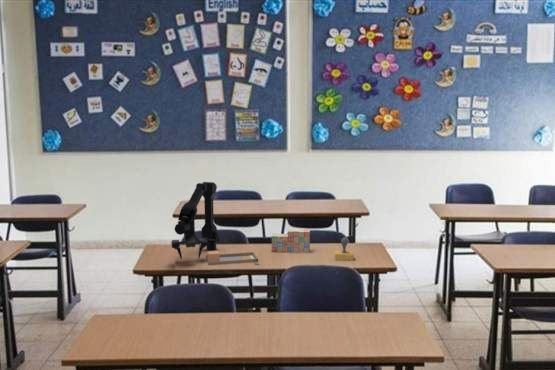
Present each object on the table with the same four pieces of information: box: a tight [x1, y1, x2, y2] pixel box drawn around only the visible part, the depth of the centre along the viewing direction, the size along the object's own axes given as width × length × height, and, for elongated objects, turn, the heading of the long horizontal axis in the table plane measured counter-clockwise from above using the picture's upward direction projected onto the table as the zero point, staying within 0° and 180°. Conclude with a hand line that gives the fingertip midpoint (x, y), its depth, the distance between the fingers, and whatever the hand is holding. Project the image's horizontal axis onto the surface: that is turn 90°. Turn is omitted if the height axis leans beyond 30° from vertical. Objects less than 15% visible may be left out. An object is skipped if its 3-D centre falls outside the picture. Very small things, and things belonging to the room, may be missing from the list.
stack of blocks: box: [271, 228, 311, 254], centre depth 353 cm, size 21×6×12 cm, turn 85°
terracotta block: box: [206, 250, 220, 263], centre depth 332 cm, size 5×6×4 cm
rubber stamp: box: [334, 237, 355, 261], centre depth 337 cm, size 10×6×12 cm, turn 85°
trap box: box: [205, 251, 259, 266], centre depth 332 cm, size 13×26×3 cm, turn 103°
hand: (190, 258), depth 330 cm, fingers open, 9 cm apart
